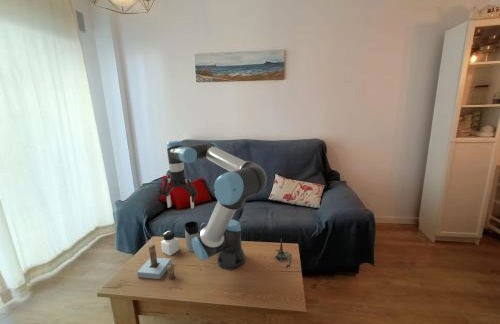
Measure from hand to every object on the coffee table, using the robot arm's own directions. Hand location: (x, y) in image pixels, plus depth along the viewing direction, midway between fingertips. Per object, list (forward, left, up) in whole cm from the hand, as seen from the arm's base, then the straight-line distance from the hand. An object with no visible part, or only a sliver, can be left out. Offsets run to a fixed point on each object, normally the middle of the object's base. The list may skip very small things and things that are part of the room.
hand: (181, 207), depth 131 cm
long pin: (+10, +16, -29) cm, 34 cm away
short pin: (-1, +20, -29) cm, 35 cm away
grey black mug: (-4, -8, -29) cm, 30 cm away
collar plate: (+10, +16, -29) cm, 34 cm away
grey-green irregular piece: (-55, -1, -29) cm, 63 cm away
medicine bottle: (+10, -1, -29) cm, 31 cm away
